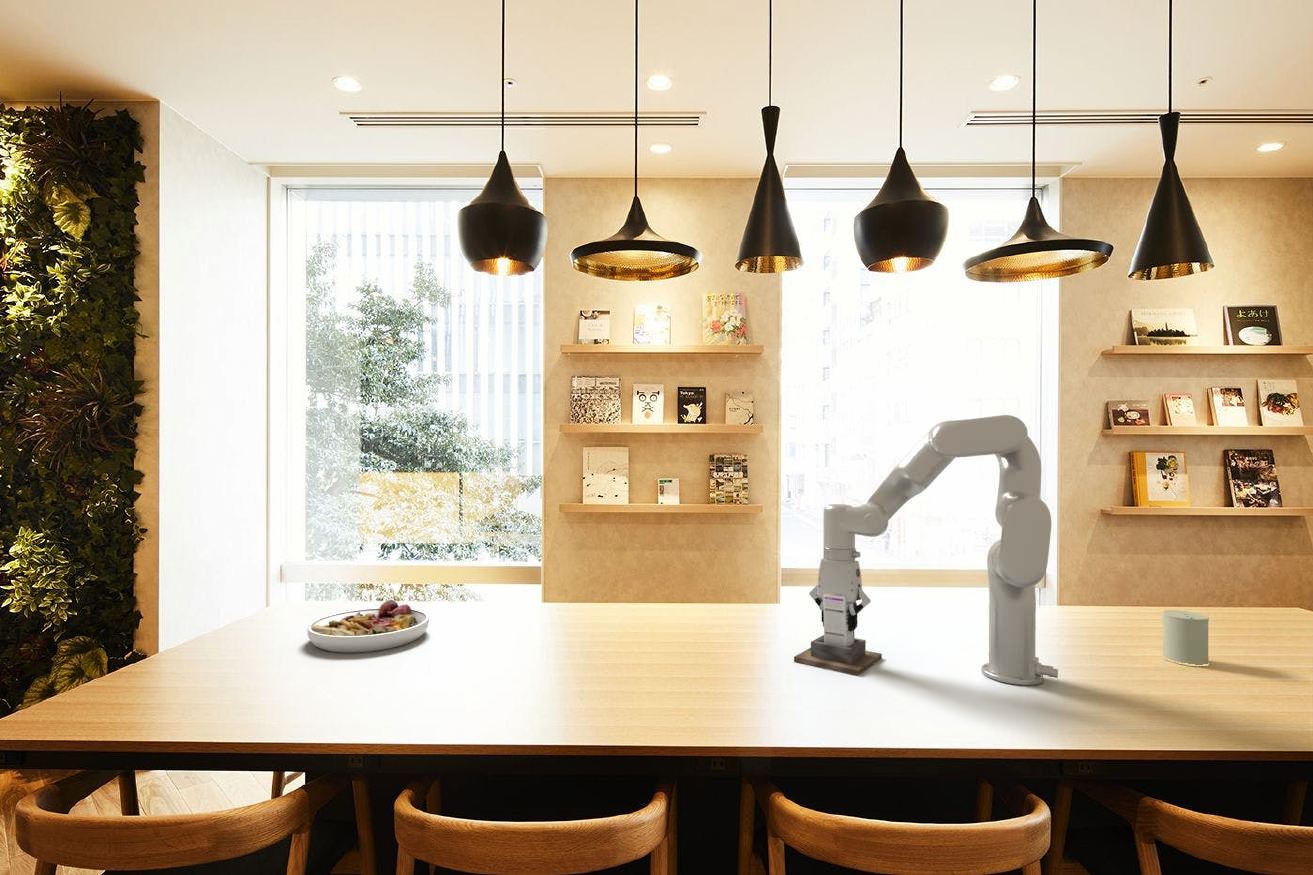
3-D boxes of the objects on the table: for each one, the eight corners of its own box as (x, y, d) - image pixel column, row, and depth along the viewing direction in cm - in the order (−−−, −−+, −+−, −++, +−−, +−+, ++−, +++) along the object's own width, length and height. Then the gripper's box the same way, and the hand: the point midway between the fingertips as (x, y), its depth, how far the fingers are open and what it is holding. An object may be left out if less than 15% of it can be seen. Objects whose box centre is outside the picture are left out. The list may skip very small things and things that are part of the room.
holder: (881, 658, 167) (881, 639, 167) (858, 675, 154) (858, 655, 154) (821, 646, 176) (821, 628, 176) (794, 661, 164) (794, 642, 164)
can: (1166, 663, 165) (1166, 614, 165) (1158, 653, 173) (1158, 606, 173) (1213, 669, 161) (1213, 619, 161) (1203, 658, 169) (1203, 611, 169)
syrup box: (846, 657, 161) (846, 596, 161) (823, 652, 165) (823, 593, 165) (855, 651, 166) (855, 592, 166) (832, 647, 169) (832, 589, 169)
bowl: (404, 657, 165) (404, 625, 166) (283, 656, 166) (283, 624, 166) (443, 625, 195) (443, 598, 196) (341, 624, 196) (341, 597, 196)
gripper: (879, 556, 163) (879, 630, 163) (812, 549, 174) (812, 619, 173) (868, 560, 157) (868, 637, 157) (800, 553, 168) (800, 625, 167)
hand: (839, 627), depth 165 cm, fingers closed on syrup box, 5 cm apart
